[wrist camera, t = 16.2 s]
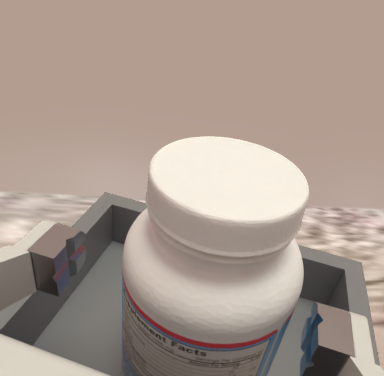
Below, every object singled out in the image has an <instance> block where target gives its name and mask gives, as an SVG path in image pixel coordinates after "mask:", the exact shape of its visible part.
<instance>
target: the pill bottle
mask: <svg viewBox="0 0 384 376" xmlns="http://www.w3.org/2000/svg"><path fill="white" fill-rule="evenodd" d="M308 197H309V188H308V184H307V181H306V179H305V177H304V175H303V174H302V172H301V171H300V170H299V169H298V168H297V167H296V166H295V165H294V164H293V163H292V162H291V161H289V160H288V159H286V158H285V157H283V156H281V155H280V154H278V153H276V152H274V151H272V150H270V149H268V148H265V147H263V146H260V145H257V144H254V143H250V142H246V141H243V140H238V139H232V138H226V137H211V136H206V137H193V138H187V139H182V140H178V141H175V142H173V143H170V144H168V145H166V146H165V147H163V148H162V149H160V150H159V151H158V152H157V153H156V155H154V157H153V159H152V160H151V163H150V166H149V172H148V188H147V193H146V205H147V208H146V209H145V210H144V211H143V212H142V213H141V214H140V215H139V216H138V217H137V219H136V220H135V221H134V223H133V224H132V226H131V227H130V229H129V231H128V234H127V237H126V240H125V244H124V249H123V262H122V373H121V374H122V376H267V374H268V372H269V370H270V367H271V365H272V362H273V360H274V357H275V355H276V353H277V350H278V348H279V346H280V343H281V341H282V338H283V336H284V333H285V331H286V329H287V326H288V324H289V321H290V319H291V317H292V314H293V312H294V309H295V307H296V304H297V302H298V299H299V296H300V293H301V290H302V285H303V278H304V268H303V261H302V256H301V252H300V250H299V247H298V245H297V242H296V240H295V239H294V238H295V236H296V235H297V233H298V232H299V230H300V227H301V222H302V217H303V214H304V211H305V208H306V205H307V202H308Z"/></svg>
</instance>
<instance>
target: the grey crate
mask: <svg viewBox="0 0 384 376" xmlns="http://www.w3.org/2000/svg"><path fill="white" fill-rule="evenodd" d="M146 208H147V205H146V203H143V202H139V201H135V200H132V199H128V198H125V197H121V196H117V195H113V194H110V193H106V192H105V193H104V194H103V195H102V196H101V197H100V198H99V199H98V200H97V201H96V202H95V203H94V204H93V205H92V206H91V207H90V208H89V210H88V211H87V212H86V213H85V214H84V215H83V216H82V217H81V218H80V219H79V220H78V221H77V222H76V223H75V224H74V225H73V226H72V227H71V228H74V229H77V230H80V231H83V232H84V233H85V241H84V242H83V243H82V244H83V246H84V247H85V249H86V258H85V262H84V264H83V266H82V268H81V269H80V271H79V272H78V273H77V274H76V275H73V276H71V277H70V283H69V285H68V286H67V287H66V288H65V290H64V291H63V292H62V293H61V295H60V296H59V297H58V296H55V295H51V294H48V293H45V292H42V291H39V290H37V291H36V292H35V293H33V294H31V295H29V296H27V297H25V298H23V299H21V300H20V301H18V302H16V303H14V304H12V305H10V306H8V307H7V308H5V309H3V310H1V311H0V334H3V335H5V336H8V337H10V338H13V339H16V340H18V341H21V342H24V343H26V344H29V345H31V346H34V347H37V348H39V349H42V350H45V351H47V352H50V353H52V354H55V355H58V356H60V357H63V358H66V359H68V360H71V361H73V362H76V363H79V364H81V365H84V366H87V367H89V368H92V369H94V370H97V371H100V372H102V373H105V374H108V375H110V376H122V374H121V373H122V262H123V249H124V244H125V240H126V237H127V234H128V231H129V229H130V227H131V226H132V224H133V223H134V221H135V220H136V219H137V217H138V216H139V215H140V214H141V213H142V212H143V211H144V210H145V209H146ZM298 247H299V250H300V252H301V256H302V261H303V268H304V278H303V285H302V290H301V293H300V296H299V299H298V302H297V304H296V307H295V309H294V312H293V314H292V317H291V319H290V321H289V324H288V326H287V329H286V331H285V333H284V336H283V338H282V341H281V343H280V346H279V348H278V350H277V353H276V355H275V357H274V360H273V362H272V365H271V367H270V370H269V372H268V374H267V376H300V360H301V358H302V356H303V354H304V352H303V351H302V349H301V336H302V331H303V327H304V324H305V322H306V319H307V318H309V317H311V309H312V306H313V304H314V303H315V302H318V303H321V304H325V305H328V306H332V307H335V308H338V309H342V310H345V311H348V312H352V313H355V314H359V315H362V316H365V317H366V318H367V320H368V326H369V331H370V337H371V343H372V349H373V355H374V360H375V364H376V365H379V366H380V363H379V358H378V352H377V347H376V341H375V335H374V330H373V324H372V318H371V313H370V307H369V301H368V296H367V290H366V285H365V279H364V273H363V268H362V263H361V262H358V261H354V260H350V259H347V258H343V257H340V256H336V255H332V254H329V253H325V252H321V251H318V250H314V249H310V248H307V247H303V246H299V245H298Z"/></svg>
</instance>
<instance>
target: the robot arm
mask: <svg viewBox="0 0 384 376" xmlns="http://www.w3.org/2000/svg"><path fill="white" fill-rule="evenodd" d="M84 241H85V233H84V232H83V231H80V230H77V229H74V228H71V227H68V226H65V225H62V224H59V223H55V222H52V221H49V220H47V219H46V220H43V221H41V222H40V223H39V224H37V225H36V226H35V227H34V228H33V229H32V230H31V231H30V232H28V233H27V234H26V235H25V236H24V237H23V238H22V239H20V240H19V241H18V242H17V243H16V244H15V245H14V246H10V245H8V246H5V247H2V248H0V311H1V310H3V309H5V308H7V307H8V306H10V305H12V304H14V303H16V302H18V301H20V300H21V299H23V298H25V297H27V296H29V295H31V294H33V293H35V292H36V291H37V290H39V291H42V292H45V293H48V294H51V295H55V296H58V297H59V296H60V295H61V293H62V292H63V291H64V290H65V288H66V287H67V286H68V285H69V283H70V277H71V276H73V275H76V274H77V273H78V272H79V271H80V269H81V268H82V266H83V264H84V262H85V258H86V249H85V247H84V246H83V244H82V243H83V242H84ZM301 349H302V351H303V352H304V354H303V356H302V358H301V360H300V376H384V370H383V369H382V368H381V366H379V365H376V364H375V360H374V355H373V349H372V343H371V337H370V331H369V326H368V320H367V318H366V317H365V316H362V315H359V314H355V313H352V312H348V311H345V310H342V309H338V308H335V307H332V306H328V305H325V304H321V303H318V302H315V303H314V304H313V306H312V309H311V317H309V318H307V319H306V322H305V324H304V327H303V331H302V336H301ZM0 376H110V375H108V374H105V373H102V372H100V371H97V370H94V369H92V368H89V367H87V366H84V365H81V364H79V363H76V362H73V361H71V360H68V359H66V358H63V357H60V356H58V355H55V354H52V353H50V352H47V351H45V350H42V349H39V348H37V347H34V346H31V345H29V344H26V343H24V342H21V341H18V340H16V339H13V338H10V337H8V336H5V335H3V334H0Z"/></svg>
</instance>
